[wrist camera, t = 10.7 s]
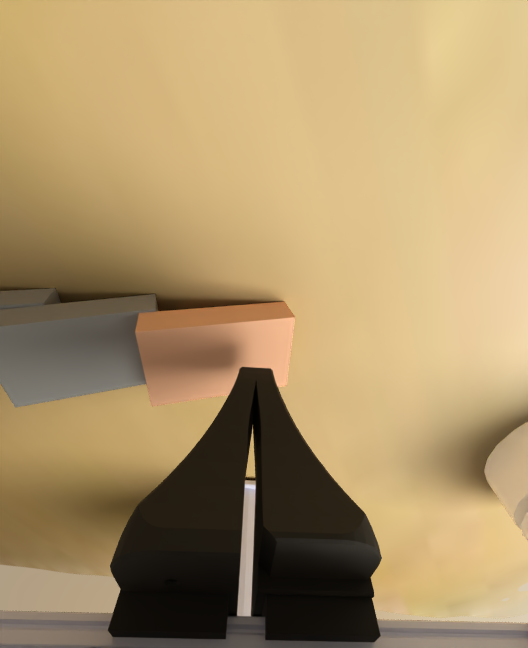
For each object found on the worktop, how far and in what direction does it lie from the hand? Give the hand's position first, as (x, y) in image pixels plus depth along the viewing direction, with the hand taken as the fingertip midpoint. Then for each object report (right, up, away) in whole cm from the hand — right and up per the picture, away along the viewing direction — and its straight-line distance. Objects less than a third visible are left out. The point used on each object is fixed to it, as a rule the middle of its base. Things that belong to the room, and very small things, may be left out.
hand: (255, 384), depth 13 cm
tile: (+1, +2, +3) cm, 4 cm away
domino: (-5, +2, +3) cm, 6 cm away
